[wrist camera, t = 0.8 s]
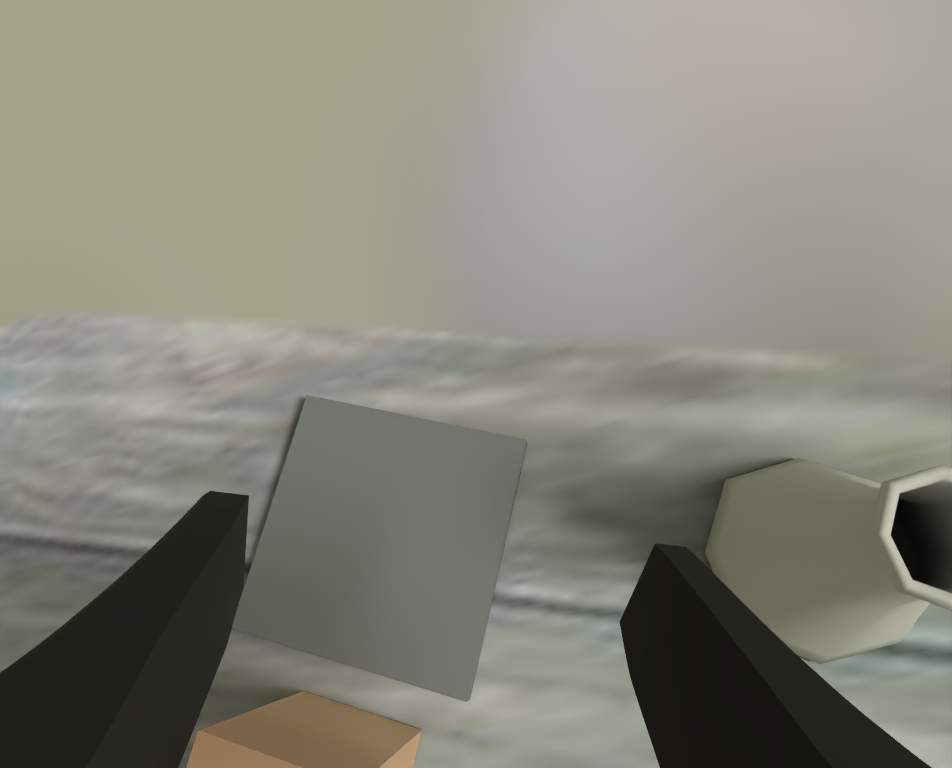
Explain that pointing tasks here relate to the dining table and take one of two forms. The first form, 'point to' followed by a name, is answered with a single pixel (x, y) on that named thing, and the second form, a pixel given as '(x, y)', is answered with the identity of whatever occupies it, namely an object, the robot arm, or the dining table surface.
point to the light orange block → (305, 738)
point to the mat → (384, 544)
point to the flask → (835, 553)
